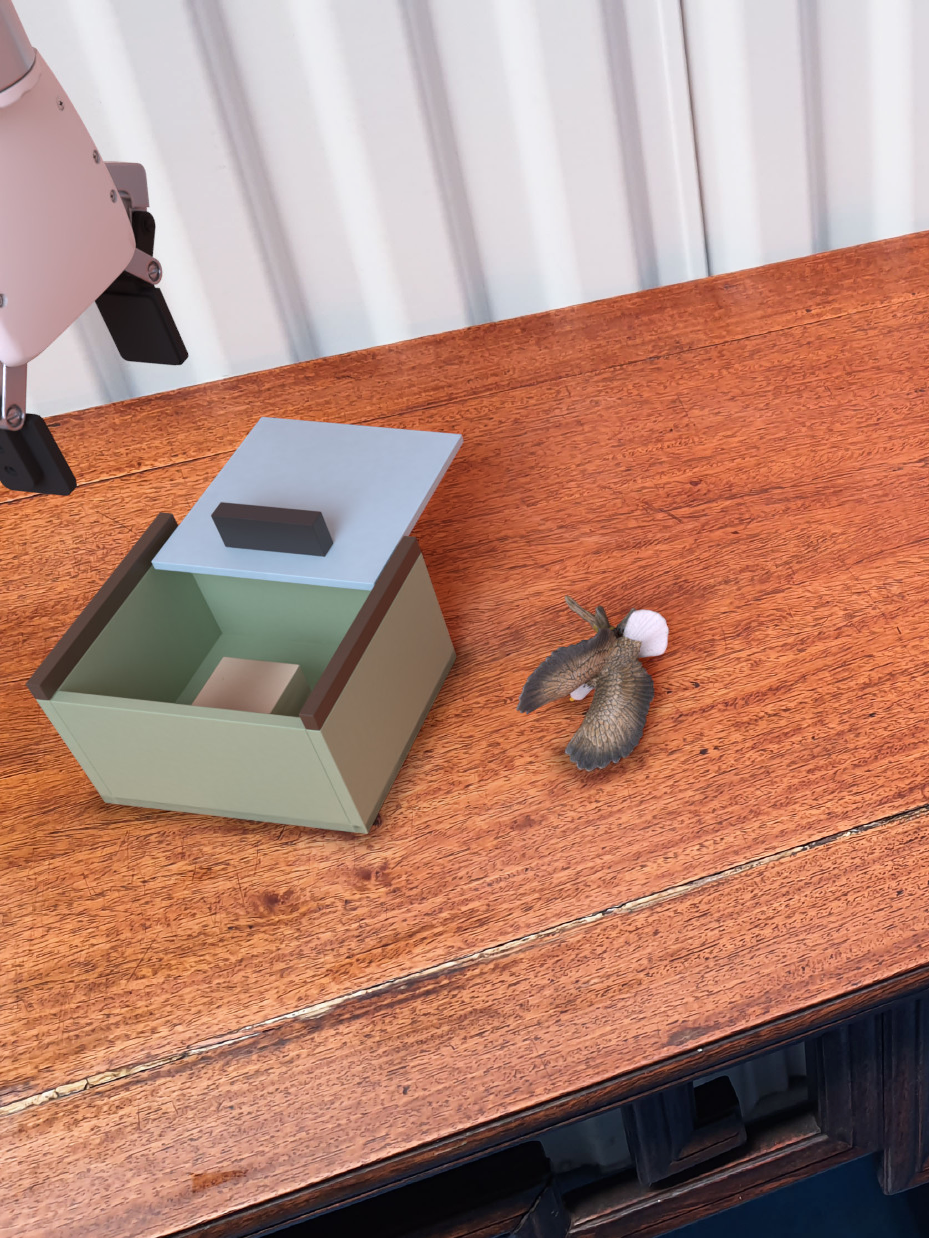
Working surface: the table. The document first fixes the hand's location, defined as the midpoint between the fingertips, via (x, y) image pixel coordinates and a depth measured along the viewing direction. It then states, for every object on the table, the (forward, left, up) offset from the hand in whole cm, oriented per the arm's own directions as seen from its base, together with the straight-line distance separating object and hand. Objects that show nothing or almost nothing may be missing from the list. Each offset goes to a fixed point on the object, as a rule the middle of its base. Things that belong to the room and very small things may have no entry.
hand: (103, 421), depth 64 cm
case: (0, +2, -24) cm, 24 cm away
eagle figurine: (+18, +6, -24) cm, 31 cm away
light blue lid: (0, +12, -15) cm, 19 cm away
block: (0, 0, -23) cm, 23 cm away
